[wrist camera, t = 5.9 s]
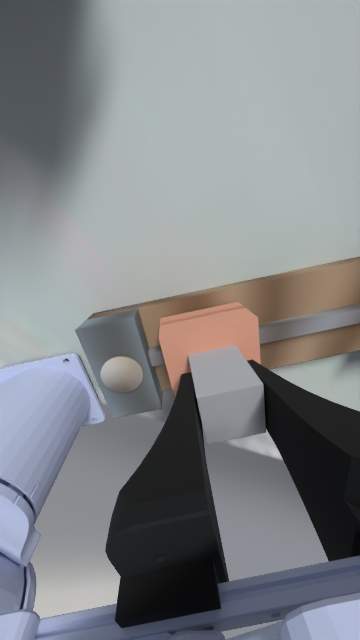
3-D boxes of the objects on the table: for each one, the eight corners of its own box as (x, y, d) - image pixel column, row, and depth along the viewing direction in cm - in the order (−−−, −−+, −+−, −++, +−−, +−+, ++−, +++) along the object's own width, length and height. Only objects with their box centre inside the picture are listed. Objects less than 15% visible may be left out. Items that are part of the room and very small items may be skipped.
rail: (122, 388, 19) (112, 421, 15) (93, 313, 16) (73, 332, 13) (395, 332, 19) (448, 351, 15) (414, 244, 16) (486, 244, 12)
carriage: (176, 381, 17) (183, 469, 10) (160, 318, 15) (155, 377, 8) (243, 367, 17) (295, 446, 10) (237, 301, 15) (297, 347, 8)
